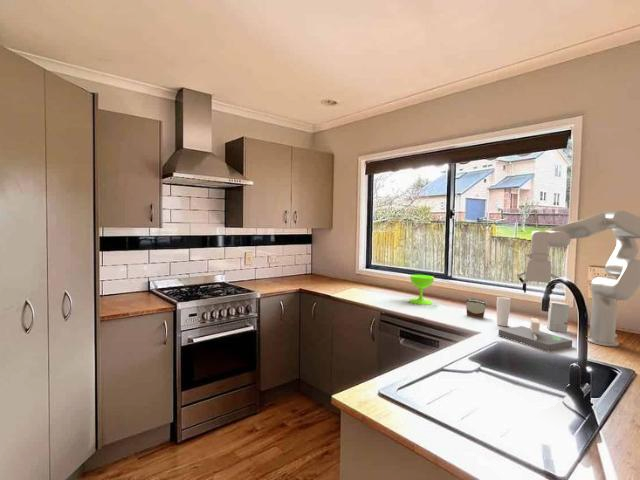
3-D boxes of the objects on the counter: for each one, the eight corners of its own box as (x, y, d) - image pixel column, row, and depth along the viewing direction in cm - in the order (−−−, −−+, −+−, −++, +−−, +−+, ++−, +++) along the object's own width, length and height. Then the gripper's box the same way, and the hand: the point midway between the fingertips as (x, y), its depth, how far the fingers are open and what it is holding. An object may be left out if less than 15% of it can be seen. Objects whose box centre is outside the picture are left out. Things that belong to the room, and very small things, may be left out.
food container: (489, 317, 213) (490, 300, 213) (485, 319, 209) (486, 302, 209) (468, 313, 222) (469, 297, 221) (464, 315, 217) (465, 298, 217)
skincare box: (549, 330, 190) (551, 302, 190) (546, 327, 196) (548, 300, 195) (567, 332, 187) (569, 304, 187) (564, 330, 193) (566, 302, 192)
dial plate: (521, 331, 185) (522, 325, 185) (572, 346, 164) (572, 340, 164) (498, 335, 177) (498, 329, 177) (548, 351, 156) (548, 344, 155)
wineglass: (437, 303, 248) (439, 277, 248) (422, 305, 239) (423, 278, 239) (419, 299, 261) (420, 274, 261) (404, 300, 252) (405, 275, 252)
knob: (530, 330, 175) (530, 317, 175) (537, 332, 174) (538, 318, 174) (531, 338, 162) (532, 324, 162) (539, 340, 161) (540, 325, 160)
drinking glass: (496, 322, 202) (498, 296, 201) (510, 325, 198) (512, 298, 197) (493, 325, 197) (495, 297, 196) (507, 327, 192) (509, 299, 192)
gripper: (518, 256, 170) (515, 292, 170) (562, 259, 162) (559, 297, 162) (518, 255, 176) (515, 290, 177) (560, 258, 168) (557, 294, 169)
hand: (536, 293), depth 170 cm, fingers open, 9 cm apart
